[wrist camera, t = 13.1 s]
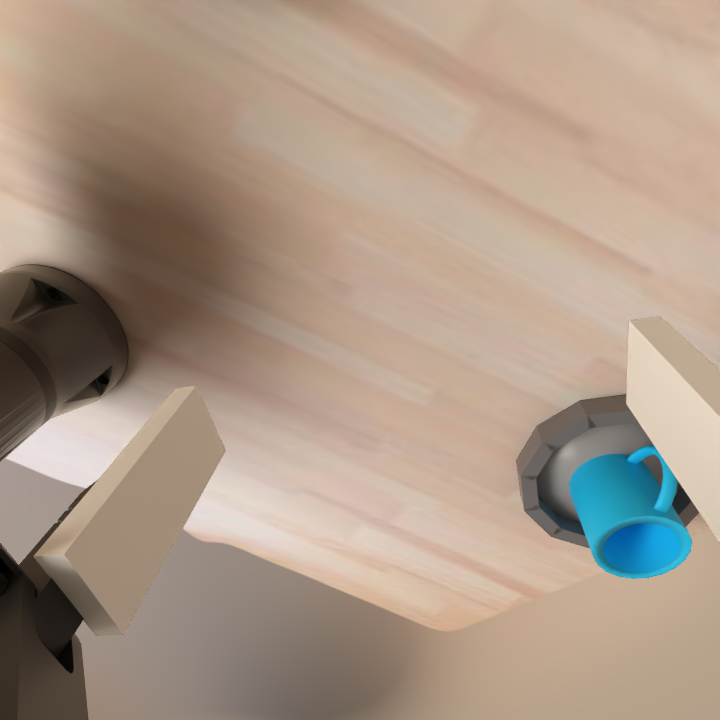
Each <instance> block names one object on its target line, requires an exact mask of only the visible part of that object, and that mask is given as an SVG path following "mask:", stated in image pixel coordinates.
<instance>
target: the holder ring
mask: <svg viewBox="0 0 720 720" xmlns="http://www.w3.org/2000/svg"><path fill="white" fill-rule="evenodd" d="M648 445H654V444H653V443H652V441H651V440H650V438H649V437H648V435H647V434H646V433H645V431H644V430H643V428H642V427H641V425H640V424H639V422H638V421H637V419H636V418H635V416H634V415H633V413H632V412H631V410H630V409H629V407H628V406H627V404H626V395H619V396H611V397H604V398H596V399H589V400H581V401H578V402H577V403H575V404H573V405H572V406H570V407H568V408H567V409H565V410H563V411H562V412H560V413H558V414H556V415H555V416H553V417H551V418H550V419H548V420H546V421H545V422H543V423H541V424H540V425H538V426H537V427H536V428H535V430H534V432H533V433H532V435H531V437H530V438H529V440H528V442H527V443H526V445H525V447H524V448H523V450H522V452H521V453H520V455H519V457H518V458H517V460H516V463H517V471H518V479H519V486H520V494H521V498H522V502H523V506H524V511H525V512H526V513H527V514H528V515H529V516H530V517H531V518H532V519H533V520H534V521H535V522H536V523H537V524H538V525H539V526H541V527H542V528H543V529H544V530H545V531H546V532H547V533H548V534H549V535H550V536H551V537H554V538H557V539H560V540H564V541H567V542H570V543H574V544H577V545H580V546H584V547H587V548H590V546H589V544H588V541H587V538H586V536H585V533H584V530H583V527H582V525H581V522H580V519H579V516H578V514H577V511H576V508H575V506H574V503H573V500H572V497H571V495H570V491H569V482H570V480H571V477H572V475H573V473H574V472H575V471H576V470H577V469H578V468H579V466H581V465H582V464H584V463H585V462H587V461H589V460H590V459H593V458H596V457H599V456H602V455H608V454H624V455H631V454H632V453H633V452H635V451H636V450H637V449H639V448H641V447H644V446H648ZM642 461H643V462H644V463H645V464H646V465H647V466H648V467H649V468H650V470H651V471H652V473H653V475H654V476H655V478H656V480H657V481H658V483H659V485H660V486H661V487H662V480H663V469H662V464H661V462H660V459H659V458H658V457H657V456H656V455H650V456H648V457H646V458H645V459H643V460H642ZM672 506H673V508H674V509H675V511H676V512H677V514H678V516H679V517H680V519H681V521H682V522H683V524H684V526H685V527H686V526H687V525H688V524H689V523H690V522H691V521H692V520H693V519H694V517H695V516H696V515H697V514H698V513H699V511H698V510H697V508H696V507H695V505H694V504H693V502H692V501H691V499H690V498H689V496H688V495H687V493H686V492H685V490H684V489H683V487H682V486H681V484H680V483H679V482H678V484H677V490H676V494H675V497H674V500H673V502H672Z"/></svg>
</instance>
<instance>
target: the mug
mask: <svg viewBox="0 0 720 720" xmlns="http://www.w3.org/2000/svg"><path fill="white" fill-rule="evenodd" d="M650 455H656V456H657V457H658V458H659V459H660V462H661V464H662V469H663V480H662V487H661V486H660V485H659V483H658V481H657V480H656V478H655V476H654V475H653V473H652V471H651V470H650V468H649V467H648V466H647V465H646V464H645V463H644V462H643V461H642V460H643V459H645V458H646V457H648V456H650ZM677 484H678V480H677V479H676V477H675V476H674V474H673V473H672V471H671V470H670V468H669V467H668V465H667V464H666V462H665V461H664V459H663V458H662V456H661V455H660V453H659V452H658V450H657V449H656V447H655V446H654V445H648V446H644V447H641V448H639V449H637V450H636V451H635V452H633V453H632V454H631V455H624V454H608V455H602V456H599V457H596V458H593V459H590V460H589V461H587V462H585V463H584V464H582V465H581V466H579V468H578V469H577V470H576V471H575V472H574V473H573V475H572V477H571V480H570V482H569V491H570V495H571V497H572V500H573V503H574V506H575V508H576V511H577V514H578V516H579V519H580V522H581V525H582V527H583V530H584V533H585V536H586V538H587V541H588V544H589V546H590V549H591V552H592V555H593V557H594V559H595V561H596V562H597V564H598V565H599V566H600V567H601V568H603V569H604V570H605V571H606V572H608V573H611V574H614V575H616V576H619V577H626V578H632V579H634V578H649V577H653V576H657V575H661V574H663V573H666V572H668V571H670V570H672V569H674V568H676V567H677V566H678V565H679V564H681V563H682V562H683V561H684V560H685V559H686V557H687V556H688V554H689V553H690V551H691V544H692V540H691V537H690V535H689V533H688V531H687V529H686V527H685V526H684V524H683V522H682V521H681V519H680V517H679V516H678V514H677V512H676V511H675V509H674V508H673V506H672V502H673V500H674V497H675V494H676V490H677Z"/></svg>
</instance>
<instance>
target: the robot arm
mask: <svg viewBox="0 0 720 720" xmlns="http://www.w3.org/2000/svg"><path fill="white" fill-rule="evenodd" d="M127 361H128V349H127V342H126V339H125V335H124V332H123V330H122V327H121V325H120V323H119V321H118V320H117V318H116V316H115V315H114V313H113V312H112V310H111V309H110V308H109V306H108V305H107V304H106V303H105V302H104V301H103V299H102V298H101V297H100V296H99V295H98V294H97V293H95V292H94V291H93V290H92V289H91V288H89V287H88V286H87V285H85V284H84V283H83V282H81V281H80V280H78V279H76V278H75V277H73V276H71V275H69V274H67V273H65V272H62V271H60V270H57V269H54V268H50V267H46V266H40V265H21V266H16V267H13V268H10V269H8V270H6V271H3V272H1V273H0V462H1V461H2V460H3V459H4V458H5V457H7V456H8V455H9V454H10V453H11V452H12V451H13V450H15V449H16V448H17V447H18V446H19V445H20V444H21V443H23V442H24V441H25V440H26V439H27V438H28V437H29V436H30V435H32V434H33V433H34V432H35V431H36V430H37V429H38V428H40V427H41V426H42V425H43V424H44V423H45V422H47V421H48V420H49V419H51V418H53V417H56V416H59V415H61V414H64V413H66V412H69V411H72V410H74V409H77V408H80V407H82V406H85V405H87V404H90V403H92V402H94V401H96V400H98V399H100V398H101V397H103V396H104V395H105V394H106V393H107V392H108V391H110V390H111V389H112V388H113V387H114V386H115V385H116V384H117V383H118V382H119V381H120V379H121V378H122V376H123V374H124V372H125V370H126V366H127ZM626 404H627V406H628V407H629V409H630V410H631V412H632V413H633V415H634V416H635V418H636V419H637V421H638V422H639V424H640V425H641V427H642V428H643V430H644V431H645V433H646V434H647V435H648V437H649V438H650V440H651V441H652V443H653V444H654V446H655V447H656V449H657V450H658V452H659V453H660V455H661V456H662V458H663V459H664V461H665V462H666V464H667V465H668V467H669V468H670V470H671V471H672V473H673V474H674V476H675V477H676V479H677V480H678V482H679V483H680V484H681V486H682V487H683V489H684V490H685V492H686V493H687V495H688V496H689V498H690V499H691V501H692V502H693V504H694V505H695V507H696V508H697V510H698V511H699V513H700V514H701V516H702V517H703V519H704V520H705V522H706V523H707V525H708V526H709V528H710V529H711V531H712V532H713V533H714V535H715V536H716V538H717V539H718V541H719V542H720V370H719V369H718V368H717V367H716V366H715V365H714V364H712V363H711V362H710V361H709V360H708V359H707V358H706V357H705V356H704V355H703V354H701V353H700V352H699V351H698V350H697V349H696V348H695V347H694V346H693V345H692V344H690V343H689V342H688V341H687V340H686V339H685V338H684V337H683V336H682V335H681V334H679V333H678V332H677V331H676V330H675V329H674V328H673V327H672V326H671V325H670V324H668V323H667V322H666V321H665V320H664V319H663V318H662V317H661V316H656V317H649V318H642V319H636V320H629V338H628V367H627V395H626ZM225 451H226V450H225V448H224V445H223V443H222V441H221V439H220V436H219V434H218V432H217V430H216V428H215V425H214V423H213V421H212V419H211V417H210V414H209V412H208V410H207V408H206V405H205V403H204V401H203V399H202V397H201V394H200V392H199V390H198V388H197V386H196V385H193V386H187V387H180V388H175V389H174V391H173V392H172V393H171V394H170V395H169V397H168V398H167V399H166V400H165V401H164V402H163V404H162V405H161V406H160V407H159V408H158V410H157V411H156V412H155V413H154V414H153V415H152V417H151V418H150V419H149V420H148V421H147V423H146V424H145V425H144V426H143V427H142V428H141V430H140V431H139V432H138V433H137V434H136V436H135V437H134V438H133V439H132V440H131V441H130V443H129V444H128V445H127V446H126V447H125V449H124V450H123V451H122V452H121V453H120V454H119V456H118V457H117V458H116V459H115V460H114V462H113V463H112V464H111V465H110V466H109V467H108V469H107V470H106V471H105V472H104V473H103V475H102V476H101V477H100V478H99V479H98V480H97V481H96V482H94V483H93V484H92V485H90V486H89V487H88V488H87V489H85V490H84V491H83V492H82V493H81V494H80V495H79V496H78V497H77V498H76V499H75V501H74V502H73V503H72V504H71V505H70V507H69V508H68V511H65V512H64V513H63V515H62V516H61V517H60V518H59V519H58V523H55V524H54V525H53V526H52V527H51V529H50V530H49V531H48V532H47V533H46V534H45V535H44V537H43V538H42V539H41V540H40V541H39V543H38V544H37V545H36V546H35V547H34V548H33V549H32V551H31V552H30V553H29V554H28V555H27V556H26V558H25V559H24V560H23V561H22V562H21V563H20V564H19V565H18V564H17V563H16V561H15V560H14V559H13V558H12V557H11V555H10V554H9V553H8V552H7V550H6V549H5V548H4V547H3V546H2V544H1V543H0V720H88V711H87V700H86V690H85V679H84V669H83V658H82V648H81V643H80V641H79V639H78V637H77V636H76V635H75V632H76V630H77V628H78V627H79V625H80V624H81V622H82V620H84V621H85V623H86V624H87V625H88V627H89V628H90V629H91V630H92V632H93V633H94V634H95V635H96V636H97V635H98V636H99V635H123V634H124V633H125V631H126V629H127V628H128V626H129V624H130V622H131V621H132V619H133V617H134V615H135V613H136V612H137V610H138V608H139V606H140V604H141V603H142V601H143V599H144V597H145V595H146V594H147V591H148V590H149V588H150V586H151V585H152V583H153V581H154V579H155V577H156V575H157V574H158V572H159V570H160V568H161V566H162V565H163V562H164V561H165V559H166V557H167V556H168V554H169V552H170V550H171V548H172V547H173V545H174V543H175V541H176V539H177V537H178V536H179V534H180V532H181V530H182V529H183V527H184V525H185V523H186V521H187V520H188V518H189V516H190V514H191V512H192V510H193V509H194V507H195V505H196V503H197V501H198V500H199V498H200V496H201V494H202V492H203V491H204V489H205V487H206V485H207V483H208V482H209V480H210V478H211V476H212V474H213V473H214V471H215V469H216V467H217V465H218V464H219V462H220V460H221V458H222V456H223V454H224V453H225Z"/></svg>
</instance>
